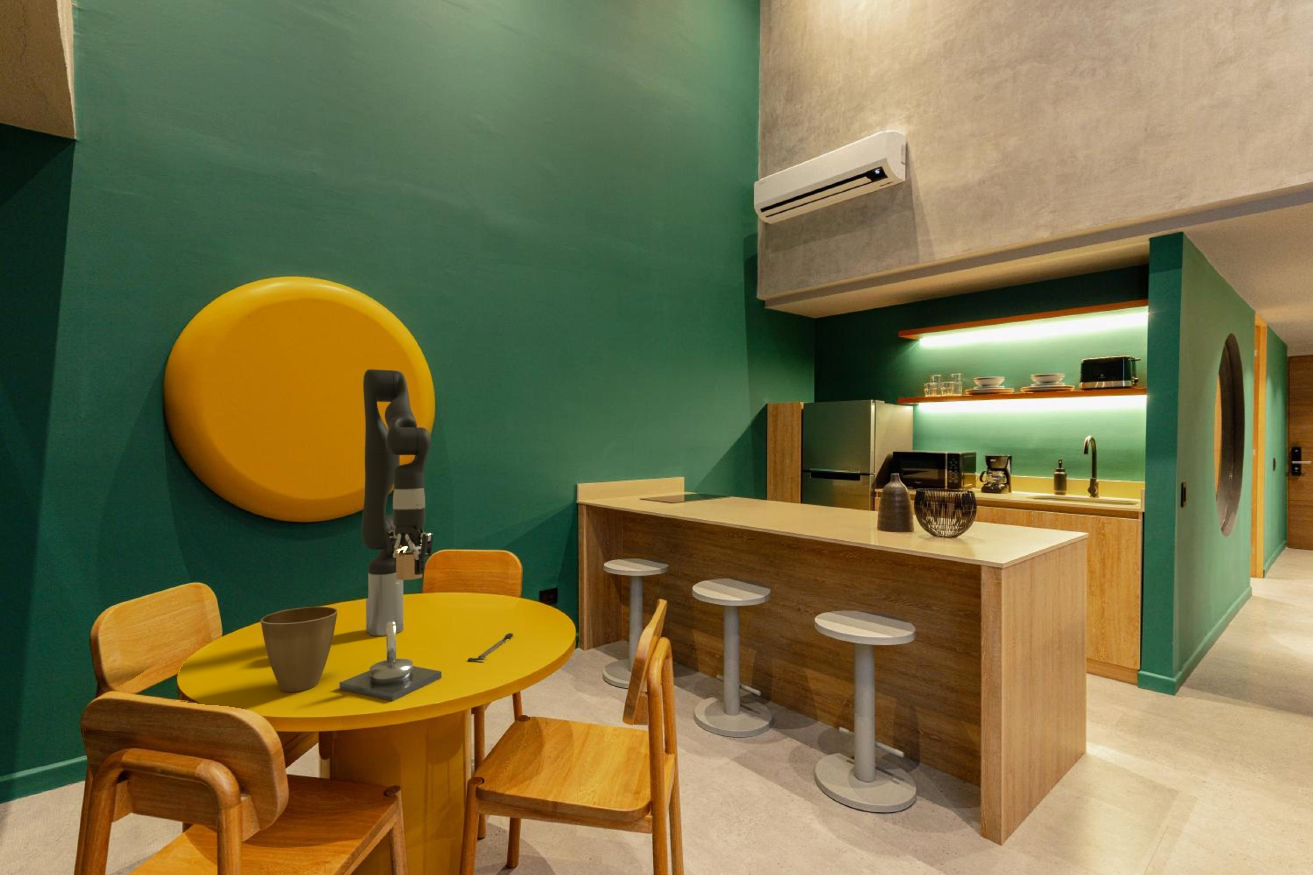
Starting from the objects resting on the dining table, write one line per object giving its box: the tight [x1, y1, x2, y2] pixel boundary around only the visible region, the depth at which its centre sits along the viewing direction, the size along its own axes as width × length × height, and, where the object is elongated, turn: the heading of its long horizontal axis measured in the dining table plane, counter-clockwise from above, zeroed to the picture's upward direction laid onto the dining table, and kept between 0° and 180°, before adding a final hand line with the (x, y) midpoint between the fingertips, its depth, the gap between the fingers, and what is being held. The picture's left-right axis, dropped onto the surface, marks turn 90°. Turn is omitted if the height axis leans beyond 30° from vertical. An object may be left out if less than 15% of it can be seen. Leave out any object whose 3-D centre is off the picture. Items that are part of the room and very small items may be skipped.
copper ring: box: [396, 550, 423, 581], centre depth 156 cm, size 6×6×6 cm
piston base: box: [338, 621, 443, 702], centre depth 140 cm, size 16×14×14 cm
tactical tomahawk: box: [467, 632, 514, 664], centre depth 163 cm, size 21×7×1 cm, turn 166°
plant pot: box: [260, 606, 338, 693], centre depth 139 cm, size 15×15×16 cm
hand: (409, 572), depth 156 cm, fingers closed on copper ring, 6 cm apart
